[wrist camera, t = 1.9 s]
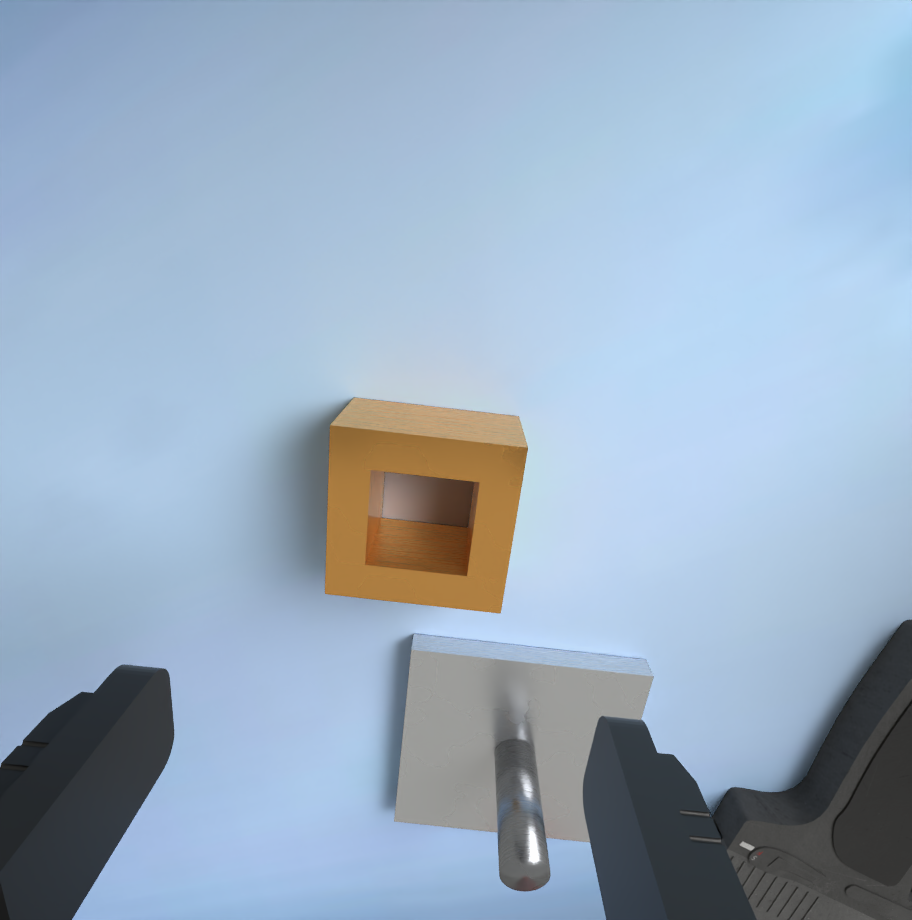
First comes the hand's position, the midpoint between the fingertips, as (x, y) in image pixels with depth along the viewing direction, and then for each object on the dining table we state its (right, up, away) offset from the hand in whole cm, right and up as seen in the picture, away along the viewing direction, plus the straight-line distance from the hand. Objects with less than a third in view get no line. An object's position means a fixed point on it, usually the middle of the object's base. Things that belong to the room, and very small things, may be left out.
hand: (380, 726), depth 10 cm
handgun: (+26, -14, +17) cm, 34 cm away
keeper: (+4, -8, +15) cm, 17 cm away
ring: (0, +4, +11) cm, 11 cm away
